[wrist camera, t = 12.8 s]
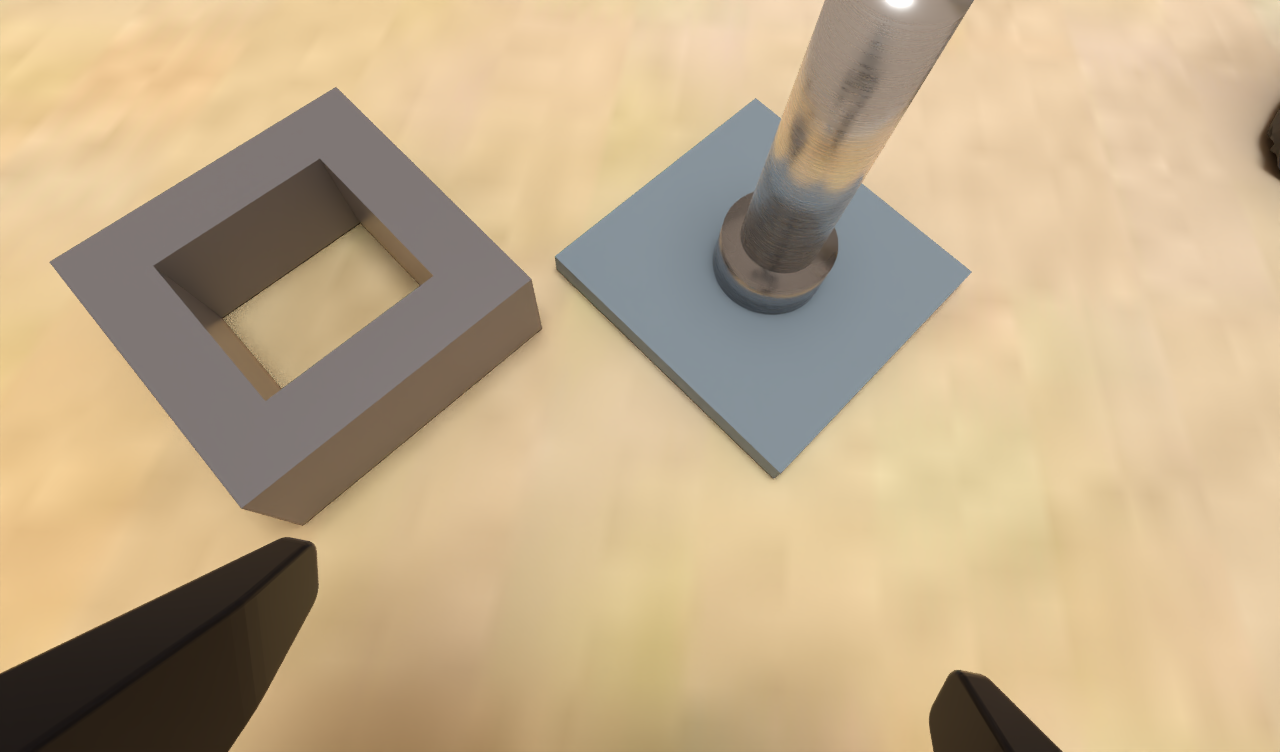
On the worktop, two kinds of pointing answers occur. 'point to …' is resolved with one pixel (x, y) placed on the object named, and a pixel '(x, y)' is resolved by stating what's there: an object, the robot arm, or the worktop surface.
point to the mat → (742, 339)
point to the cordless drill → (1275, 136)
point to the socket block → (264, 252)
